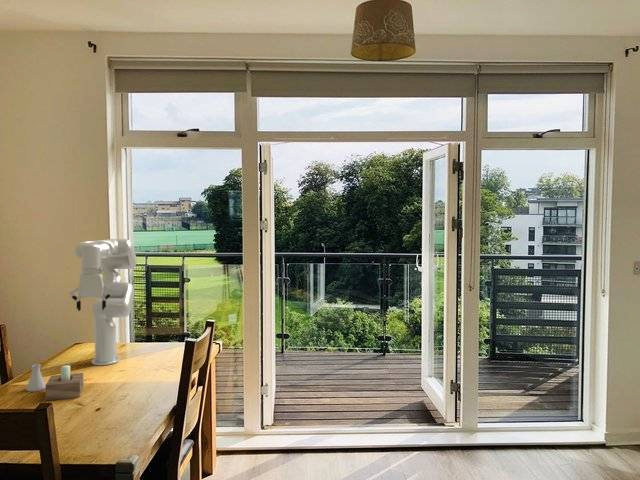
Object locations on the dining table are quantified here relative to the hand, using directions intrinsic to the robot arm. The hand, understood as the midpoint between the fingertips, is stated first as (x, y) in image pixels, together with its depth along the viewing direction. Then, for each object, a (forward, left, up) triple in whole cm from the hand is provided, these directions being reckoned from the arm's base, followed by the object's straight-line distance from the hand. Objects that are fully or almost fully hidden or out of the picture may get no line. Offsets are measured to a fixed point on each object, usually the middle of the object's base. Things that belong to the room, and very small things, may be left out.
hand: (91, 309), depth 216 cm
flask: (+10, -20, -31) cm, 38 cm away
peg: (+19, -8, -29) cm, 36 cm away
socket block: (+19, -8, -30) cm, 37 cm away
